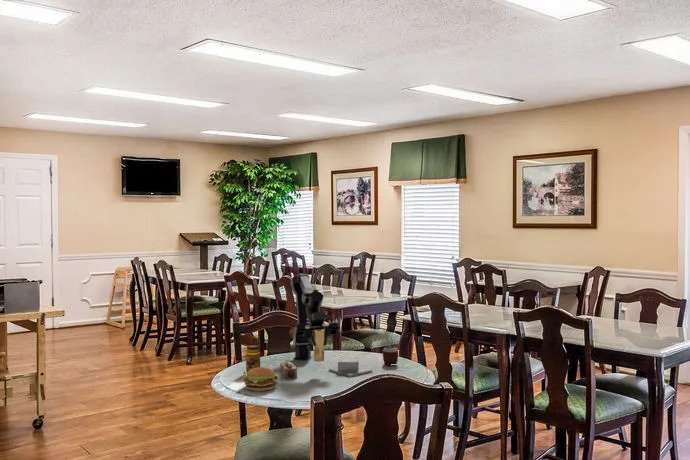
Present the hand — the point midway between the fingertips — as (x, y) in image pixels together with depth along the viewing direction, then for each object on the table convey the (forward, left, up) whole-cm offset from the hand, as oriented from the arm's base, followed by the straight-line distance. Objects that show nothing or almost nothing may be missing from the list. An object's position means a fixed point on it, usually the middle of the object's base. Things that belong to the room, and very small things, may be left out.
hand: (319, 345), depth 274 cm
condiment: (-29, -7, -13) cm, 33 cm away
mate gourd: (+19, +33, -13) cm, 41 cm away
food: (-14, -26, -14) cm, 32 cm away
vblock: (+7, +14, -13) cm, 21 cm away
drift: (-13, -3, -9) cm, 17 cm away
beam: (-13, -3, -13) cm, 19 cm away
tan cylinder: (-1, +1, -7) cm, 7 cm away
